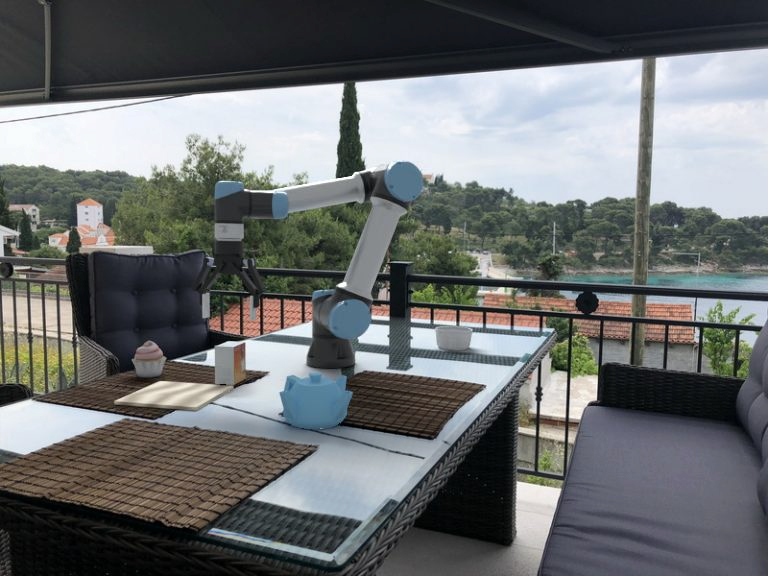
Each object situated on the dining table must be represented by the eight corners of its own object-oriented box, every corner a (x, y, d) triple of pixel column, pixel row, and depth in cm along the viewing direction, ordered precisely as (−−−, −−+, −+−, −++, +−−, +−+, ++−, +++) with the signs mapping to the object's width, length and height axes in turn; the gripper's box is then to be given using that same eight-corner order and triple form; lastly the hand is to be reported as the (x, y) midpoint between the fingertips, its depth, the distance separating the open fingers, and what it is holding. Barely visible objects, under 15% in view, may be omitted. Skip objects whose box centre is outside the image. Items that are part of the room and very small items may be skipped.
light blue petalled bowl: (349, 410, 148) (349, 365, 147) (353, 431, 133) (353, 381, 132) (283, 412, 146) (282, 366, 145) (279, 433, 131) (279, 382, 130)
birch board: (233, 388, 165) (233, 385, 165) (196, 410, 146) (196, 407, 146) (160, 383, 169) (160, 380, 169) (114, 404, 150) (114, 401, 150)
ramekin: (471, 345, 231) (472, 326, 231) (472, 352, 218) (473, 332, 218) (435, 343, 233) (435, 325, 232) (434, 350, 220) (434, 331, 219)
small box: (234, 386, 168) (233, 347, 167) (214, 384, 169) (214, 345, 168) (246, 378, 176) (246, 341, 175) (227, 377, 177) (227, 340, 176)
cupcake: (129, 380, 173) (128, 344, 172) (133, 372, 182) (132, 338, 181) (165, 378, 175) (165, 342, 174) (168, 370, 184) (167, 337, 183)
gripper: (179, 238, 168) (179, 318, 170) (268, 241, 163) (267, 322, 165) (193, 238, 175) (193, 314, 177) (278, 240, 170) (278, 319, 172)
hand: (229, 318), depth 171 cm, fingers open, 13 cm apart
